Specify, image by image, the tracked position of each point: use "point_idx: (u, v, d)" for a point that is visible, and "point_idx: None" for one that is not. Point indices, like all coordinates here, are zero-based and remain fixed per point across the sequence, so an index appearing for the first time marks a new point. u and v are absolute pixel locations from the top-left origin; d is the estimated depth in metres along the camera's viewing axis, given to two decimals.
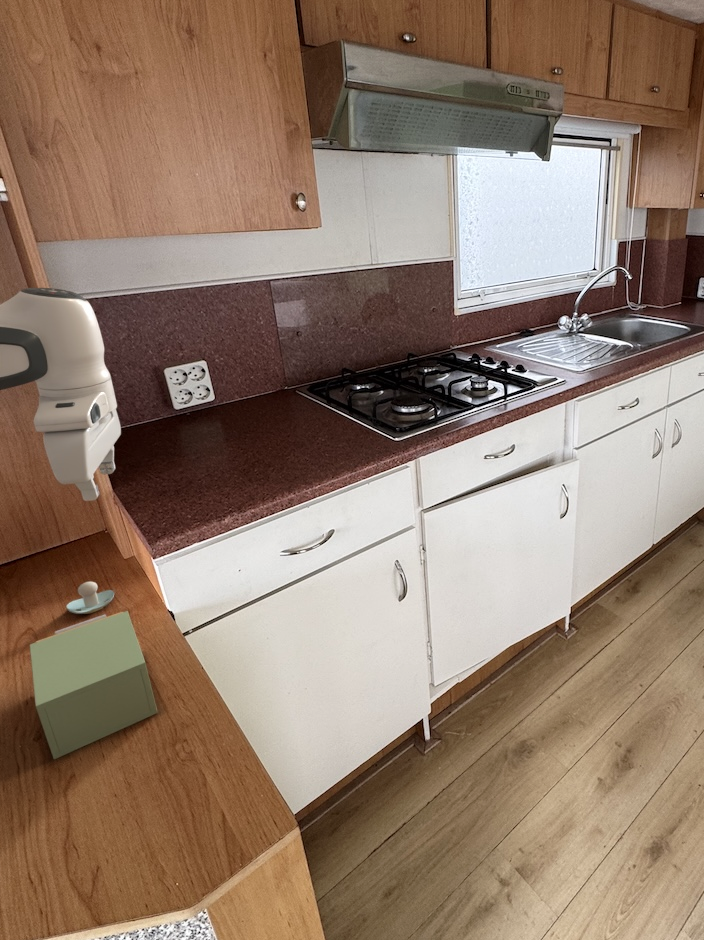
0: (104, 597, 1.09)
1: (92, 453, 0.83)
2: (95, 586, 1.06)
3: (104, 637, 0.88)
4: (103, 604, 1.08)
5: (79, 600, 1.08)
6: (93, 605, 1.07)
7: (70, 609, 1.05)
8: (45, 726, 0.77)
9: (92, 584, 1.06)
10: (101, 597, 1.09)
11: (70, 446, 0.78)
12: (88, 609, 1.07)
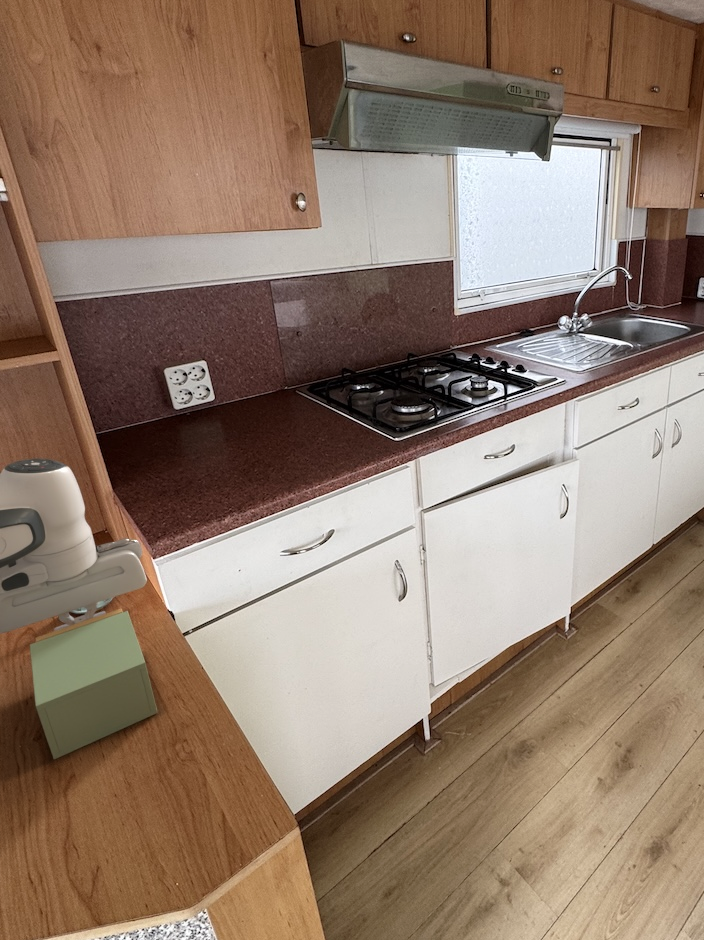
0: None
1: (26, 610, 0.88)
2: None
3: (104, 637, 0.88)
4: (103, 604, 1.08)
5: None
6: None
7: None
8: (45, 726, 0.77)
9: None
10: None
11: None
12: None
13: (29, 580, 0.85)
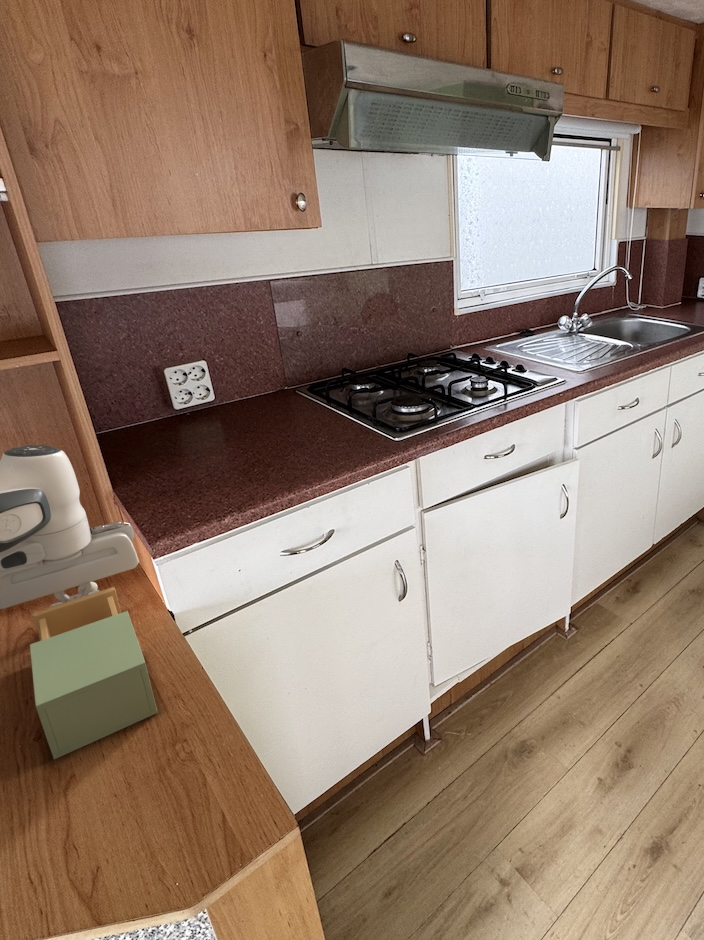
0: None
1: (23, 587, 0.93)
2: (95, 586, 1.06)
3: (104, 637, 0.88)
4: None
5: None
6: None
7: None
8: (45, 726, 0.77)
9: (92, 584, 1.06)
10: None
11: None
12: None
13: (27, 558, 0.91)
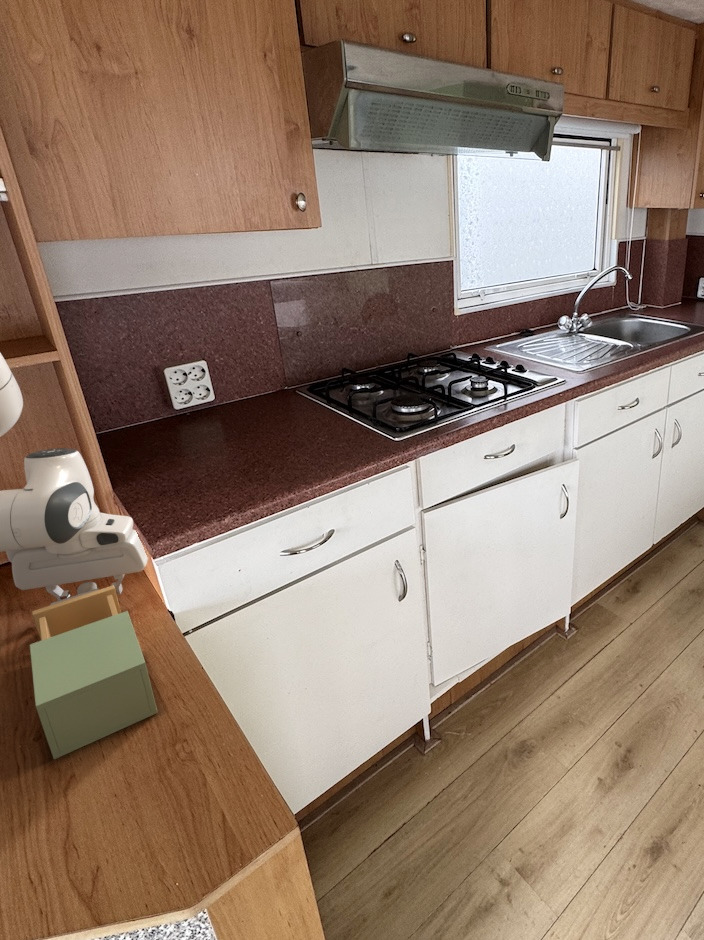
0: None
1: None
2: (94, 586, 1.06)
3: (104, 637, 0.88)
4: None
5: None
6: None
7: None
8: (45, 726, 0.77)
9: (91, 584, 1.06)
10: None
11: (139, 540, 1.08)
12: None
13: None
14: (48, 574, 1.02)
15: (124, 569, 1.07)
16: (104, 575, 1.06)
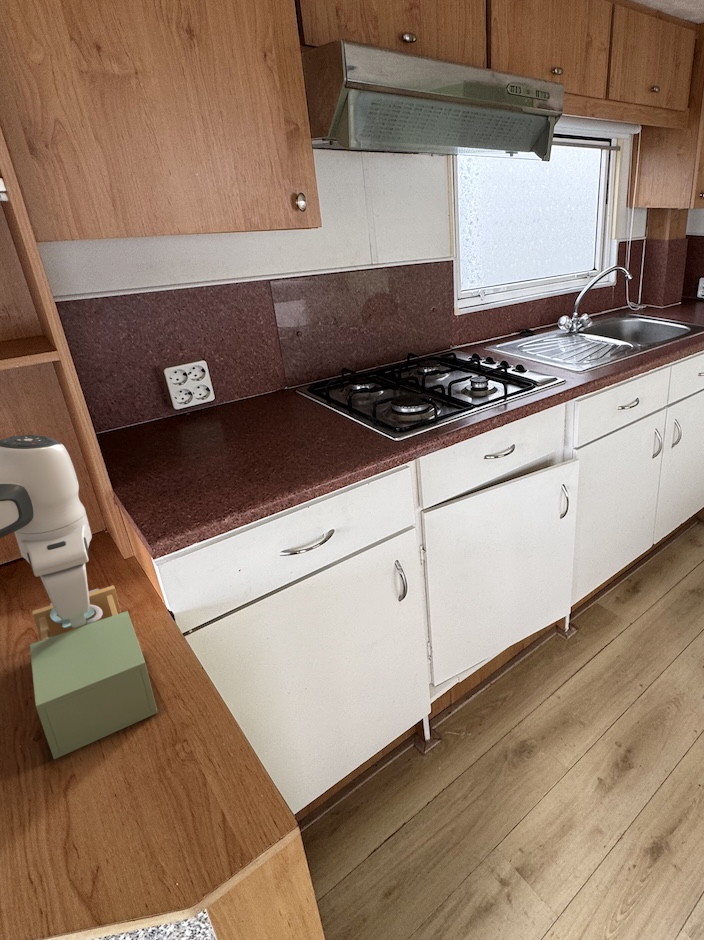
0: None
1: None
2: None
3: (104, 637, 0.88)
4: (66, 625, 0.91)
5: None
6: (68, 619, 0.92)
7: None
8: (45, 726, 0.77)
9: None
10: (85, 616, 0.93)
11: (72, 583, 0.83)
12: (62, 620, 0.93)
13: (86, 544, 0.88)
14: None
15: None
16: None
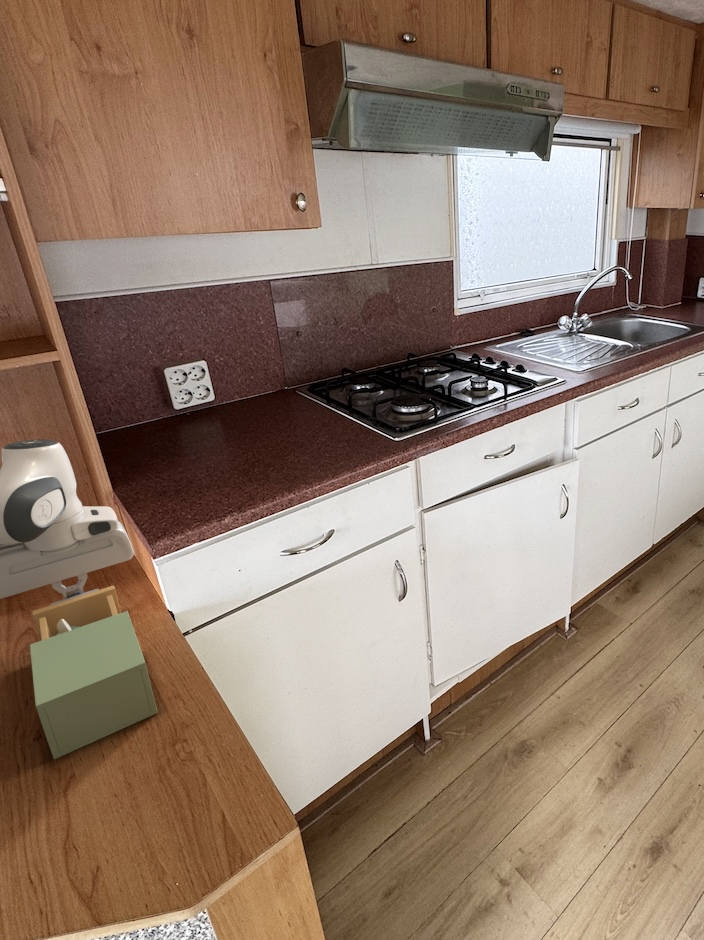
0: None
1: None
2: (62, 631, 0.92)
3: (104, 637, 0.88)
4: None
5: None
6: None
7: None
8: (45, 726, 0.77)
9: (60, 627, 0.92)
10: None
11: None
12: None
13: None
14: (31, 576, 0.96)
15: (113, 559, 1.04)
16: (92, 569, 1.02)
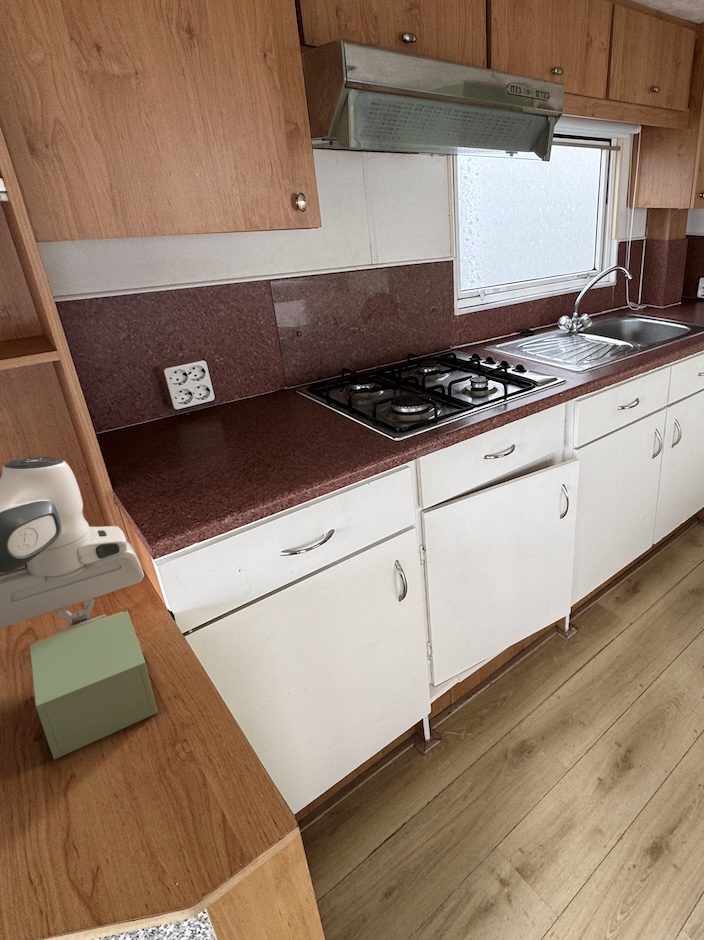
0: None
1: None
2: None
3: (104, 637, 0.88)
4: None
5: None
6: None
7: None
8: (45, 726, 0.77)
9: None
10: None
11: None
12: None
13: None
14: (34, 603, 0.90)
15: (122, 583, 0.97)
16: (99, 593, 0.96)
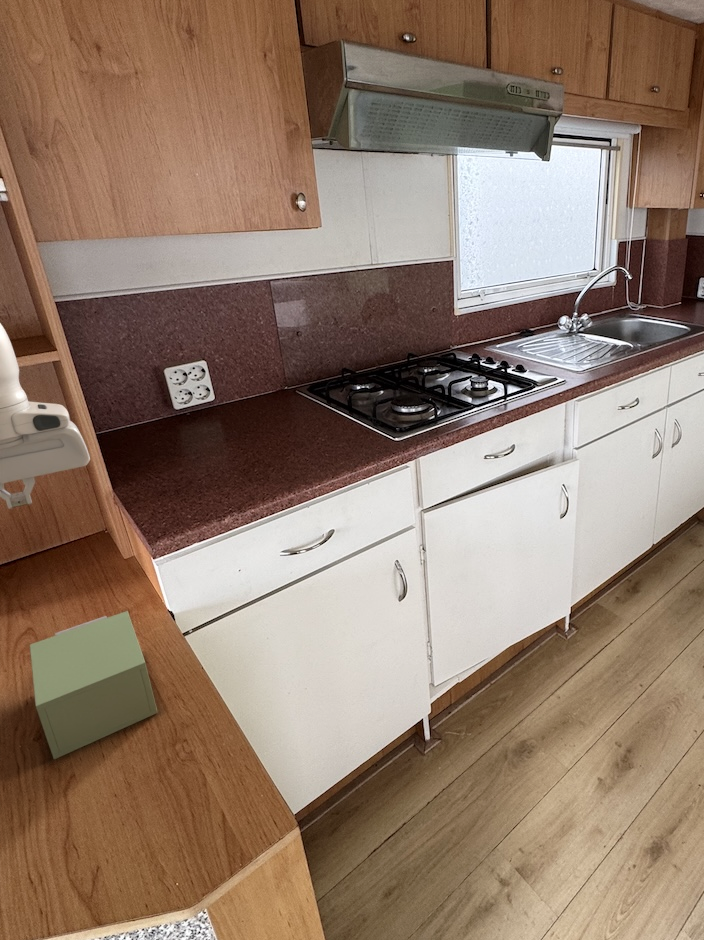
0: None
1: None
2: None
3: (104, 637, 0.88)
4: None
5: None
6: None
7: None
8: (45, 726, 0.77)
9: None
10: None
11: None
12: None
13: None
14: None
15: (65, 463, 0.91)
16: (40, 472, 0.89)
